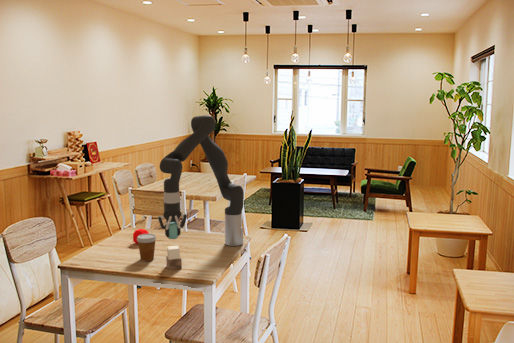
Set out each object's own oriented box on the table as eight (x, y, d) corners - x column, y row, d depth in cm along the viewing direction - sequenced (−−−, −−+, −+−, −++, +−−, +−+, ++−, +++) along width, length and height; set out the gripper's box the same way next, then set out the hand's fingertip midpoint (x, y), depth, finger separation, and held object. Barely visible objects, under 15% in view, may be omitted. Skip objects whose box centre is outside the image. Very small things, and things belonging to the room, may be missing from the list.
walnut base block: (178, 264, 246) (178, 254, 245) (181, 268, 240) (181, 258, 239) (166, 266, 244) (166, 256, 243) (169, 270, 238) (168, 260, 237)
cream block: (177, 255, 244) (177, 245, 243) (179, 258, 239) (179, 248, 239) (167, 256, 243) (167, 246, 242) (169, 259, 238) (168, 249, 237)
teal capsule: (176, 236, 242) (176, 221, 241) (178, 238, 238) (178, 224, 237) (167, 236, 241) (167, 222, 239) (169, 239, 237) (168, 225, 235)
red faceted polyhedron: (151, 242, 279) (151, 229, 278) (141, 246, 273) (140, 232, 271) (141, 240, 284) (140, 227, 282) (130, 244, 277) (130, 230, 276)
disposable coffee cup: (147, 263, 247) (146, 240, 244) (133, 260, 252) (132, 237, 249) (161, 258, 254) (160, 235, 252) (147, 254, 259) (146, 232, 257)
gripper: (185, 198, 242) (185, 232, 245) (155, 200, 237) (156, 235, 240) (188, 201, 235) (189, 236, 238) (158, 203, 230) (159, 240, 233)
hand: (172, 236), depth 239 cm, fingers closed on teal capsule, 4 cm apart
